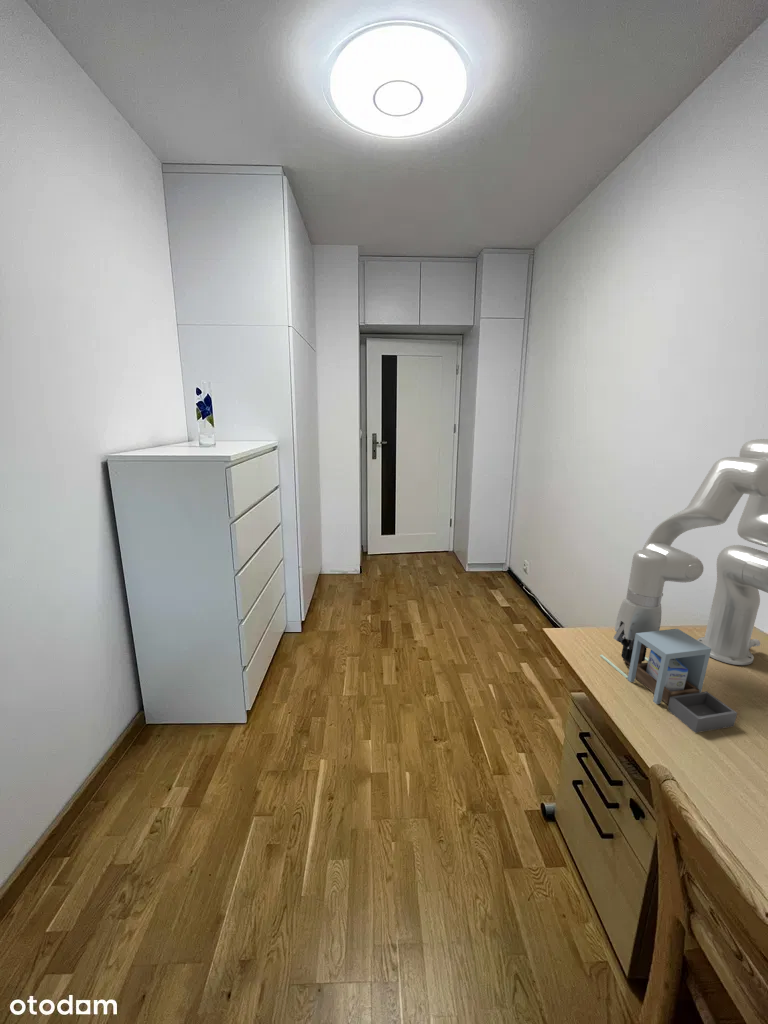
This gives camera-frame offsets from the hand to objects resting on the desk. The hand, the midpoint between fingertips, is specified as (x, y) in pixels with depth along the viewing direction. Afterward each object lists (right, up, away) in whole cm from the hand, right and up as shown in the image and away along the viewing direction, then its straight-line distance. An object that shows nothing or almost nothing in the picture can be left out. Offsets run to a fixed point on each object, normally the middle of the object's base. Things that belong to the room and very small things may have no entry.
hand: (632, 658), depth 110 cm
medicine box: (+2, -4, -9) cm, 10 cm away
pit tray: (+4, -7, -19) cm, 20 cm away
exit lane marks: (0, -2, 0) cm, 2 cm away
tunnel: (+2, -4, -9) cm, 10 cm away
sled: (+1, -3, -6) cm, 7 cm away
